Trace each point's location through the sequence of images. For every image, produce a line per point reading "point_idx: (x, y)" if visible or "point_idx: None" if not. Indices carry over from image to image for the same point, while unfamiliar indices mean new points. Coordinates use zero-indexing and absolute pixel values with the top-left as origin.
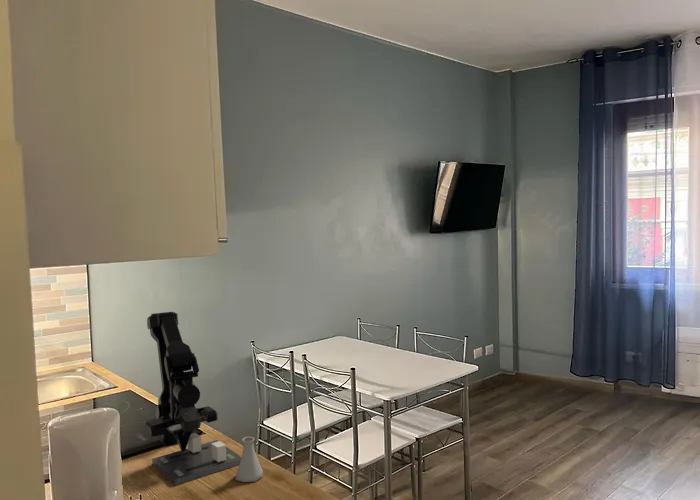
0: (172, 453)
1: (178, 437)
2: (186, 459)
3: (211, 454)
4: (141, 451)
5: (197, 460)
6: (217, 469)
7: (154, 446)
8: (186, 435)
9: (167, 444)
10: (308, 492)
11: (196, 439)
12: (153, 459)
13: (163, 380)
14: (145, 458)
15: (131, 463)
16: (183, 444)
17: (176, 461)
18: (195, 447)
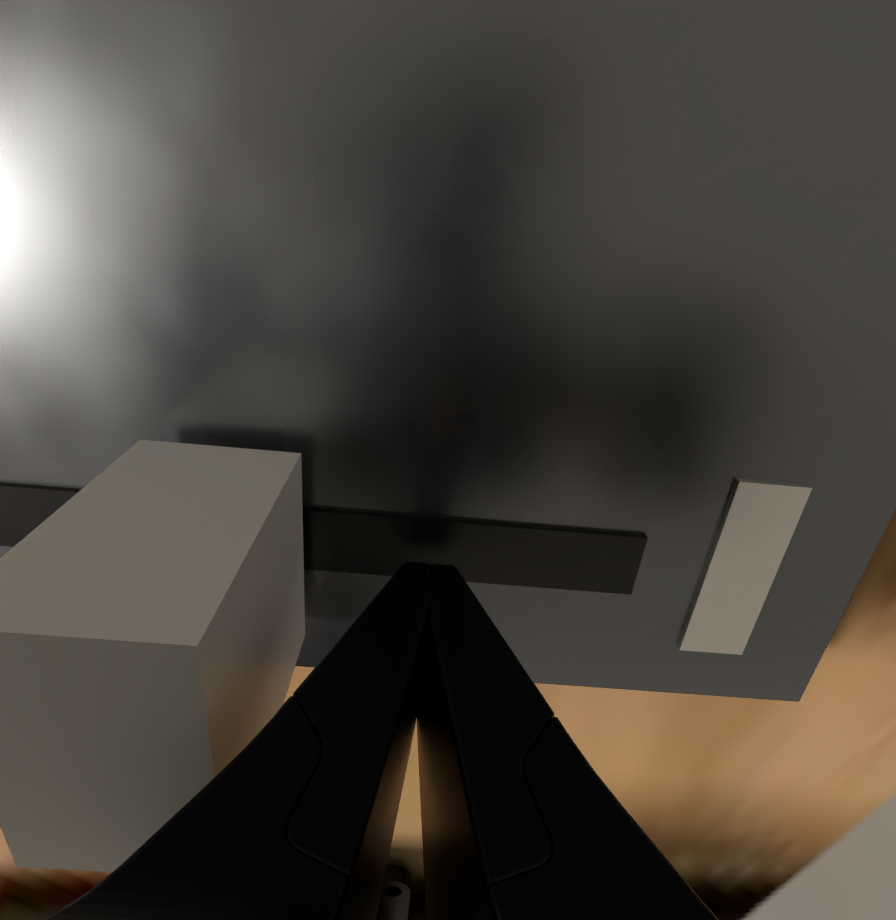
0: (526, 667)
1: (645, 855)
2: (497, 339)
3: (7, 172)
4: None
5: (362, 123)
6: None
7: None
8: (345, 828)
9: (395, 880)
10: None
11: (99, 599)
12: (803, 676)
13: None
14: (701, 789)
15: (861, 783)
16: (443, 643)
17: (658, 396)
18: (221, 491)
